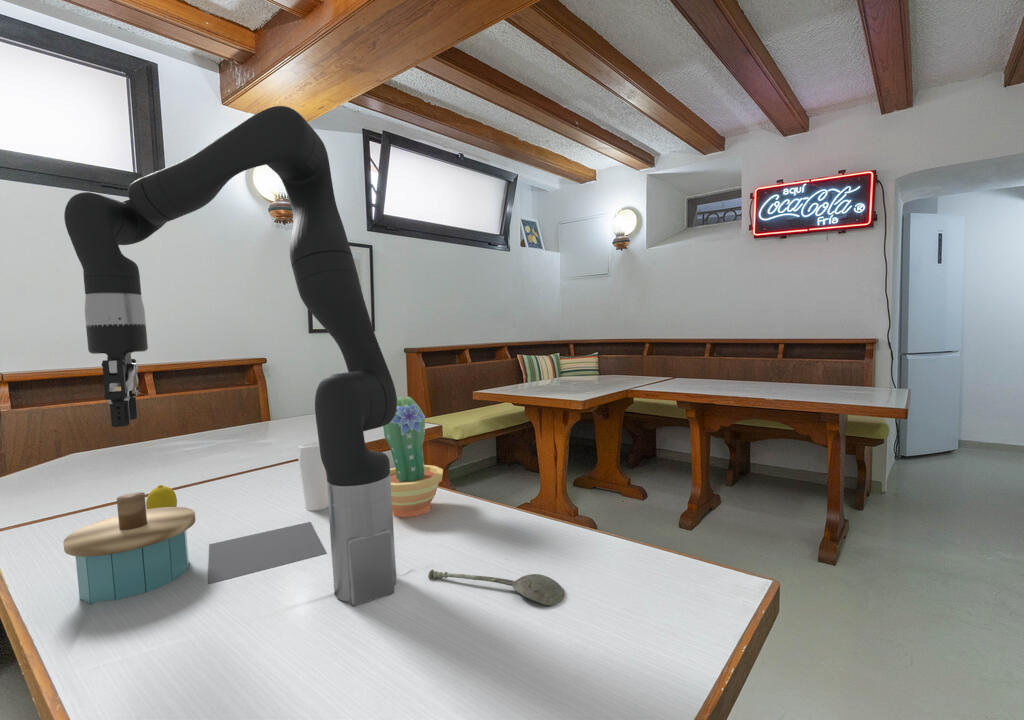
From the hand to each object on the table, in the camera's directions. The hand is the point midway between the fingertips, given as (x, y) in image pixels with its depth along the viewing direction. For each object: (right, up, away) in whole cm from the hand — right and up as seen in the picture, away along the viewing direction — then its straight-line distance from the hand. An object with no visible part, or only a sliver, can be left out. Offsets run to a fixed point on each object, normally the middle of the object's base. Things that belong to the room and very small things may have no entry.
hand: (125, 422), depth 79 cm
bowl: (+1, -26, +1) cm, 26 cm away
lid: (+1, -18, +1) cm, 18 cm away
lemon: (-14, -26, +28) cm, 41 cm away
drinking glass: (+19, -24, +32) cm, 44 cm away
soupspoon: (+60, -25, -6) cm, 66 cm away
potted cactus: (+41, -23, +28) cm, 55 cm away
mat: (+18, -25, +10) cm, 32 cm away
